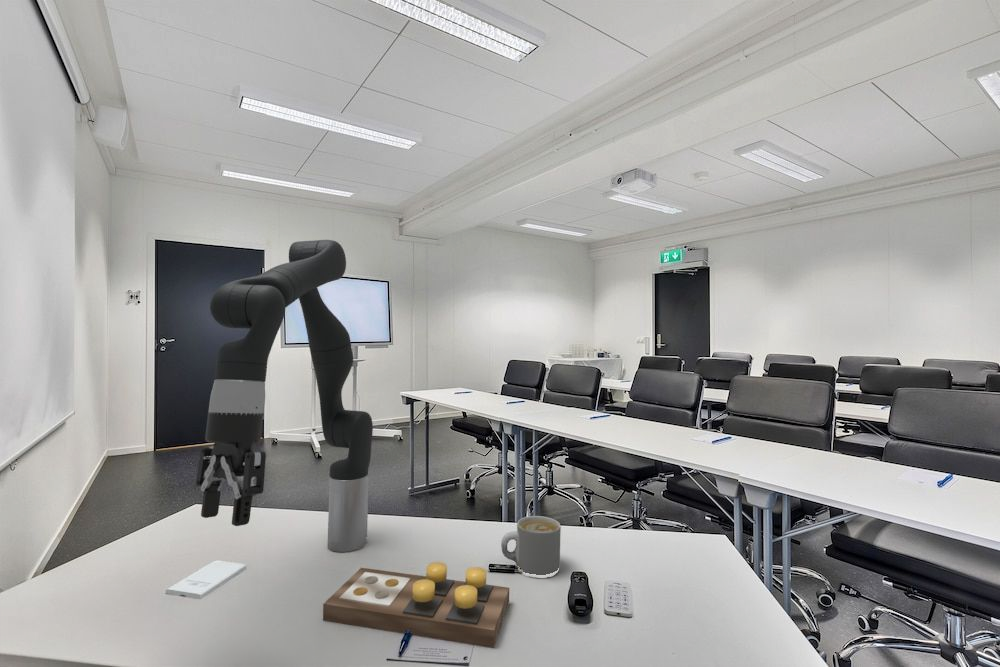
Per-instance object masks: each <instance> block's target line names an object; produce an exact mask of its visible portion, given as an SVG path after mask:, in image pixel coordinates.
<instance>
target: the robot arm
mask: <svg viewBox="0 0 1000 667" xmlns="http://www.w3.org/2000/svg"><path fill="white" fill-rule="evenodd" d="M346 269H347V259H346V253H345V250H344V248H343V246H342V245H341V244H340V243H339V241H336V240H333V239H319V240H317V239H315V240H314V239H313V240H303V241H302V240H301V241H299V240H298V241H295V242H292V243H291V245H290V246H289V250H288V262H285V263H281V264H279V265H276V266H274V267H272V268H269V269H268V270H266V271H264V272H261V273H260V274H259V275H256V276H251V277H250V276H249V277H244V278H241V279H236V280H233V281H230V282H227V283H224V284H223V285H221V286H219V287H218V288H217V289H216V290H215V292H214V293H213V295H212V297H211V299H210V302H209V310H210V314H211V316H212V318H213V319H214V321H215V322H217V324H219V325H220V326H223V327H225V328H229V329H249V331H248V333H247V334H246V335H245V336H244V337H243V338H241V339H240V340H236V341H231V342H227V343H223V344H221V346H219V349H218V352H217V356H216V364H215V374H214V381H213V384H212V385H213V386H212V389H211V392H210V397H209V398H210V399H209V405H208V413H207V421H206V429H205V435H204V439H205V441H206V442H207V443H211V444H213V445H212V446H202V447H201V449H200V453H199V460H198V465H197V471H196V472H197V473H196V477H195V486H196V487H200V490H201V492H203V495H202V504H201V512H200V516H201V517H202V518H204V519H207V518H213V517H214V518H215V517H216V516H218V514H219V509H220V502H221V494H222V493H221V492H222V491H221V488H222V486H223V485H224V483H225V481H227V485H228V486H230V487H231V488H232V491H233V493H234V499H233V508H232V517H231V525H232V526H235V527H241V526H245V525H247V524H249V522H250V520H251V511H252V501H253V498H254V497H255V496H256V495H260V494H263V492H264V486H265V471H266V460H267V459H266V458H267V456H266V455H267V454H266V451H253V444H254V443H257V442H260V441H261V440H262V434H263V433H262V431H263V422H264V414H265V404H266V381H267V370H268V361H269V357H270V353H271V351H272V348H273V345H274V342H275V340H276V337H277V335H278V333H279V330H280V328H281V326H282V323H283V320H284V317H285V313H286V308H287V307H289V306H291V305H292V304H293V303H295V302H296V301H297V300H299V304H300V307H301V312H302V316H303V318H304V319H303V320H304V324H305V330H306V334H307V340H308V341H307V342H308V347H309V353H310V356H311V361H312V365H313V370H314V375H315V379H316V385H317V392H318V397H319V407H320V408H319V409H320V416H321V417H320V418H321V428H322V434H323V437H324V440H325V442H326V443H327V444H328V445H329V446H331V447H334V448H335V447H336V448H341V449H342V448H344V449H348V455H347V457H346V458H343V459H339V460H336V461H334V462H332V464H330V466H329V477H328V478H329V480H328V481H329V486H328V513H327V514H328V519H327V520H328V521H327V549H329V550H330V551H332V552H333V551H334V552H338V553H341V552H342V553H344V552H345V553H346V552H353V551H357V550H359V549H361V548H363V547H364V546H365V545H366V544H367V538H368V522H369V521H368V519H369V517H368V515H369V511H368V510H369V502H368V500H369V499H368V498H369V497H368V496H369V493H368V492H369V490H368V488H369V468H370V463H371V458H372V457H371V456H372V446H373V445H372V443H373V434H374V432H373V431H374V429H373V428H374V426H373V424H374V423H373V419H372V416H371V415H370V413H369V412H367V411H362V410H361V411H360V410H352V409H349V410H348V409H345V408H344V404H343V399H342V398H343V397H342V393H343V392H342V391H343V388H344V385H345V382H346V380H347V379H348V376H349V375H350V372H351V370H352V367H353V363H354V354H353V348H352V343H351V337H350V333H349V332H348V330H347V328H346V327H345V326H344V324H343V323H342V322H341V321H340V320H339V319H338V317H337V316H336V315H335V314H334V313H333V312H332V311H331V310H330V309H329V308H328V307H327V304H326V303H325V302H324V300H323V298H322V296H321V295H320V292H319V289H318V287H321V286H324V285H326V284H329V283H331V282H334V281H335V282H336V281H338V280H340V279H341V278H342V277H343V276H344V274H345V273H346ZM254 480H255V481H256V482H255V484H254ZM366 537H367V538H366Z"/></svg>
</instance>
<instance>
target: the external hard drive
mask: <svg viewBox="0 0 1000 667" xmlns="http://www.w3.org/2000/svg"><path fill="white" fill-rule="evenodd" d="M245 570H247V564H245V563H240V562H239V563H238V562H232V561H224V560H218V559H217V560H213V561H211V562H210V563H208V564H207V565H205V566H203V567H201V568H200V569H199V570H198V569H197V570H196V571H195V572H193V573H192V574H190V575H188V576H186V577H185V578H183V579H181V580H180V581H178V582H176V583H175V584H173V585H171V586H169V587H168V588H166V589H165V594H166V595H173V596H179V597H180V596H182V597H186V598H192V599H197V600H201V599H202V598H204V597H206V596H208V595H209V594H211V593H212V592H214V591H215V590H216V589H217V590H218V588H219V587H221V586H222V585H224V584H226V583H228V581H231V579H233V578H235V577H236V576H238V575H239V574H241V573H242V572H244V571H245Z"/></svg>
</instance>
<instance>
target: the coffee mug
mask: <svg viewBox="0 0 1000 667" xmlns="http://www.w3.org/2000/svg"><path fill="white" fill-rule="evenodd" d="M561 528H562V526H561V523H560V522H559V521H557V520H556V519H554V518H551V517H548V516H541V515H531V516H530V515H529V516H525V517H521V518H520V519H519V520H518V521H517V523H516V529H517V530H515V531H509V532H506V533H504V535H503V536H502V539H501V545H500V546H501V547H500V548H501V552H502V554H503V556H504V558H506V559H508V560H511V561H513V562H514V563H515V564H516V565H517V566H519V567H520V568H521V569H522V570H523V572H525V573H529V574H536V575H546V574H550V573H553V572H555V571H557V570H558V568H559V566H560V565H561V564H560V563H561V562H560V561H561V560H560V559H561V531H562V530H561ZM511 540H514V541H515V548H514V550H513V551H509V550H508V543H509V542H510V541H511ZM516 565H515V566H516Z"/></svg>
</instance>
